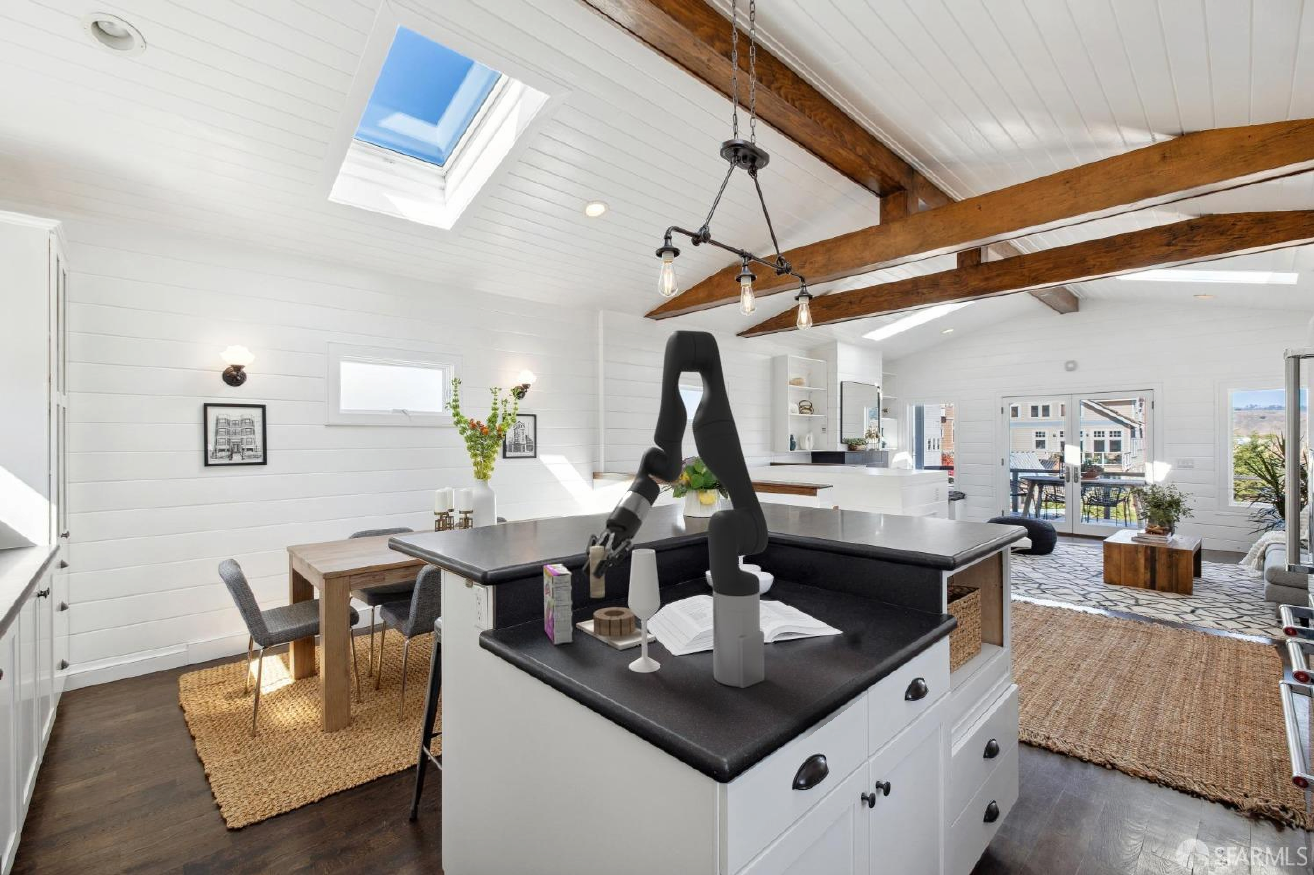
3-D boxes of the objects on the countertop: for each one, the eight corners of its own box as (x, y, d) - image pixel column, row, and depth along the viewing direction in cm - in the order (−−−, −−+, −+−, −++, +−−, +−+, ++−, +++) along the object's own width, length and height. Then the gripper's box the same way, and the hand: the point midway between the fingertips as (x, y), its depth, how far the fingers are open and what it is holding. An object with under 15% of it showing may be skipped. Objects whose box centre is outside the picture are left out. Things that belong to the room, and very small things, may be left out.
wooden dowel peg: (607, 596, 131) (606, 547, 131) (595, 598, 129) (594, 548, 129) (600, 593, 133) (599, 545, 133) (587, 595, 131) (587, 546, 132)
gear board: (655, 640, 137) (655, 619, 137) (619, 649, 131) (619, 627, 131) (609, 619, 153) (609, 600, 153) (576, 627, 147) (576, 607, 147)
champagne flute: (666, 663, 123) (665, 549, 123) (649, 675, 117) (648, 555, 117) (640, 657, 126) (639, 547, 126) (622, 668, 121) (621, 552, 121)
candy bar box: (543, 631, 145) (542, 564, 145) (563, 628, 147) (562, 563, 147) (552, 645, 134) (551, 574, 134) (573, 642, 136) (573, 572, 136)
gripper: (600, 503, 142) (560, 561, 133) (641, 506, 132) (602, 569, 123) (617, 522, 145) (579, 580, 136) (658, 527, 136) (620, 590, 127)
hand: (590, 575), depth 130 cm, fingers closed on wooden dowel peg, 3 cm apart
